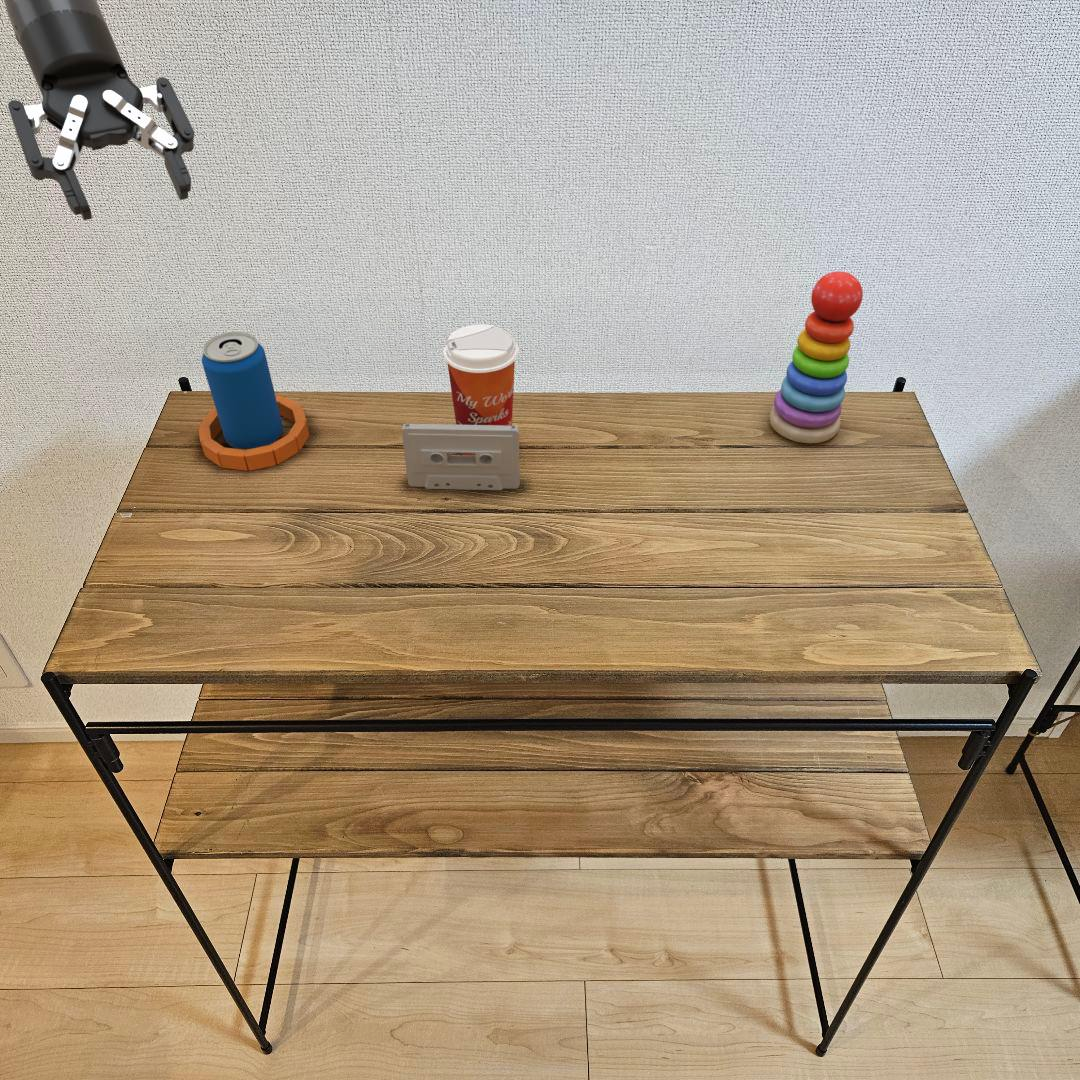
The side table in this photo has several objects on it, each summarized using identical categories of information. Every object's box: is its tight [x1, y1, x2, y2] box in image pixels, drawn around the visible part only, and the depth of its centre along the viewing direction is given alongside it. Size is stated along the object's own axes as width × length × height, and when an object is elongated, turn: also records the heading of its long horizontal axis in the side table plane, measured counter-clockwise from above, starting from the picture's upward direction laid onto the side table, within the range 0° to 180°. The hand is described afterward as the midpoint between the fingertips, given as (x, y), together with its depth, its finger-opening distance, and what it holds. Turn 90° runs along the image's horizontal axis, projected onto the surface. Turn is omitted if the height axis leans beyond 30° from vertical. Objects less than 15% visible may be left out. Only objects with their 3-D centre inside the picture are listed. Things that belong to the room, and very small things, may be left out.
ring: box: [197, 394, 310, 472], centre depth 100 cm, size 12×12×2 cm
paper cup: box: [442, 323, 520, 455], centre depth 95 cm, size 8×8×14 cm
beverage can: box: [201, 331, 284, 450], centre depth 97 cm, size 6×6×12 cm
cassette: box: [401, 423, 521, 491], centre depth 93 cm, size 12×2×8 cm, turn 88°
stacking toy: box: [769, 270, 864, 444], centre depth 97 cm, size 8×8×19 cm
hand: (137, 205), depth 80 cm, fingers open, 8 cm apart
